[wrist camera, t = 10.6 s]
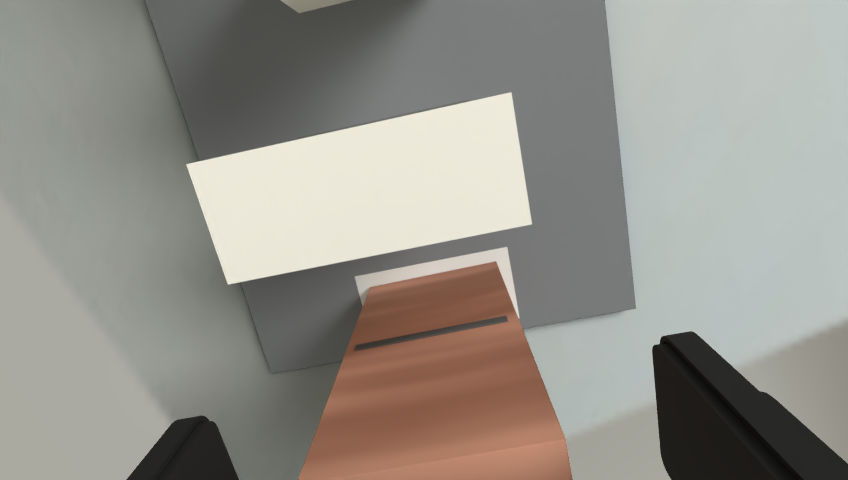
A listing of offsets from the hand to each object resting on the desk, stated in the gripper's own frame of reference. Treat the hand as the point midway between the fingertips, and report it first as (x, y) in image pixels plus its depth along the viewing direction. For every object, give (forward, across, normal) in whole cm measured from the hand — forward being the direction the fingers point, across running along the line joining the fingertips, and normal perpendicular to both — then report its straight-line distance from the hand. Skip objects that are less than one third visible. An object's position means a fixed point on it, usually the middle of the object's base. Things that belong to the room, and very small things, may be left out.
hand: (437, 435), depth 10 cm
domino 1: (+9, 0, -5) cm, 10 cm away
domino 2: (+9, 0, +1) cm, 9 cm away
